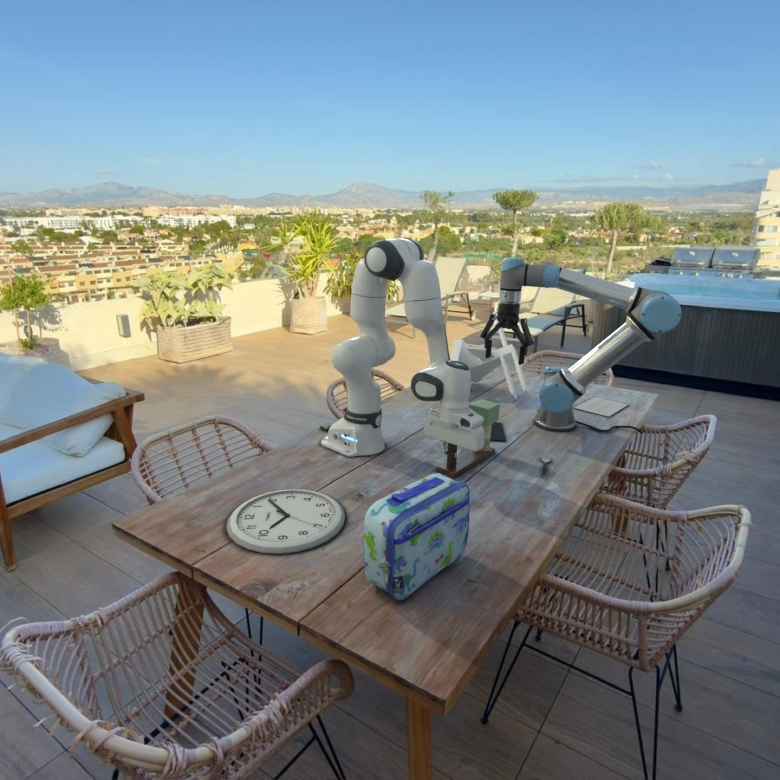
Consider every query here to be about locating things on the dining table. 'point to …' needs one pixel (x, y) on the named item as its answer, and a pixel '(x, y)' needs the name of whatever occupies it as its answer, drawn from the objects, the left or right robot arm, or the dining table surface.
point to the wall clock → (285, 521)
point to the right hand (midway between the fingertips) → (504, 360)
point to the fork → (545, 461)
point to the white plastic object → (489, 360)
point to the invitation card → (601, 406)
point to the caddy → (465, 456)
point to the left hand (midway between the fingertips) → (451, 455)
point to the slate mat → (497, 432)
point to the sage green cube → (486, 411)
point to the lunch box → (415, 534)
